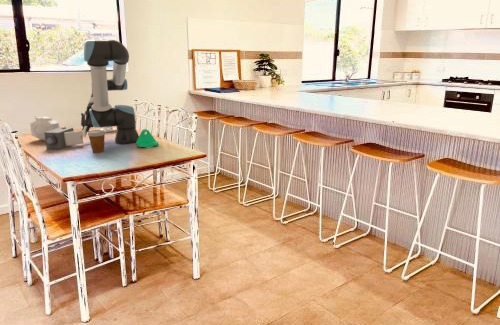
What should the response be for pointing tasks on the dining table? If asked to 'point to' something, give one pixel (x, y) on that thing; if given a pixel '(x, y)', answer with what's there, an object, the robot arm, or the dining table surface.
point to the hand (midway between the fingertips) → (83, 135)
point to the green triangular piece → (146, 140)
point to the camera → (42, 126)
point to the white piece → (108, 129)
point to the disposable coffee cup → (97, 140)
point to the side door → (73, 138)
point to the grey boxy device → (56, 138)
